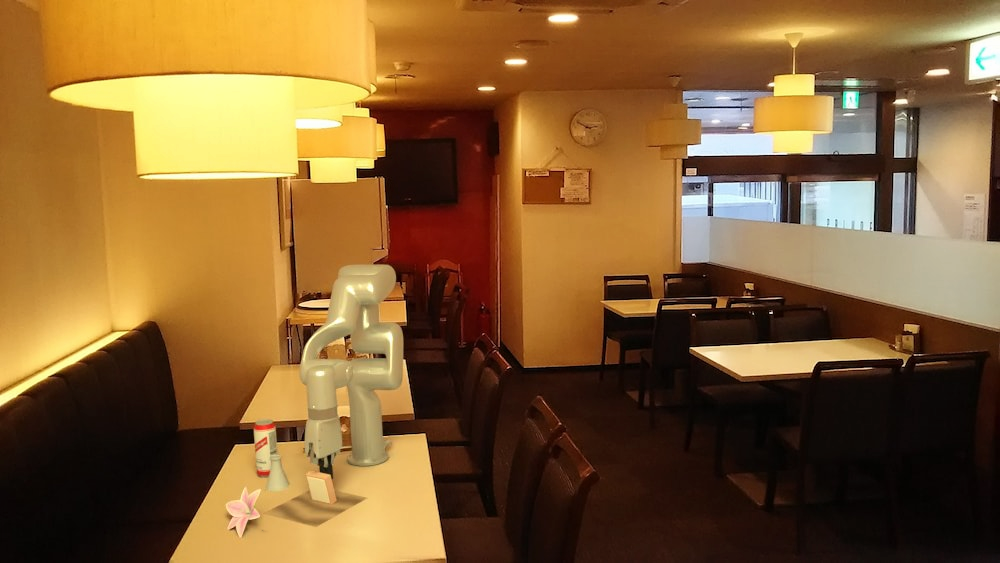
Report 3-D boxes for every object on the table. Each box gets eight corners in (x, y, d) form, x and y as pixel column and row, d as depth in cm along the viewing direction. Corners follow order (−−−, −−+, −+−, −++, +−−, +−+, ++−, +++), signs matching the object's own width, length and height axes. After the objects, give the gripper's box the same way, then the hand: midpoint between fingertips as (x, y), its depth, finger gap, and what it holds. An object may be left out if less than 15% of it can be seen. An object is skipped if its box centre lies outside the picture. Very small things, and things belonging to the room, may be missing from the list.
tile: (316, 496, 220) (310, 470, 218) (336, 500, 217) (330, 474, 214) (311, 500, 218) (304, 474, 216) (331, 505, 215) (325, 479, 212)
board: (317, 490, 228) (316, 486, 228) (367, 502, 219) (367, 497, 219) (263, 517, 211) (263, 513, 211) (316, 531, 202) (315, 526, 202)
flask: (283, 496, 225) (281, 461, 223) (259, 495, 226) (257, 460, 225) (295, 486, 232) (293, 452, 230) (271, 485, 233) (269, 451, 232)
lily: (228, 523, 211) (211, 499, 206) (270, 499, 214) (255, 474, 209) (238, 554, 202) (221, 529, 196) (282, 528, 205) (266, 504, 200)
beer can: (268, 479, 238) (265, 426, 235) (252, 476, 240) (248, 423, 238) (283, 472, 243) (279, 419, 241) (266, 469, 246) (263, 417, 244)
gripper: (331, 403, 224) (334, 468, 226) (291, 418, 211) (296, 487, 213) (352, 407, 220) (355, 472, 223) (313, 422, 207) (318, 491, 210)
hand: (326, 479), depth 218 cm, fingers closed
